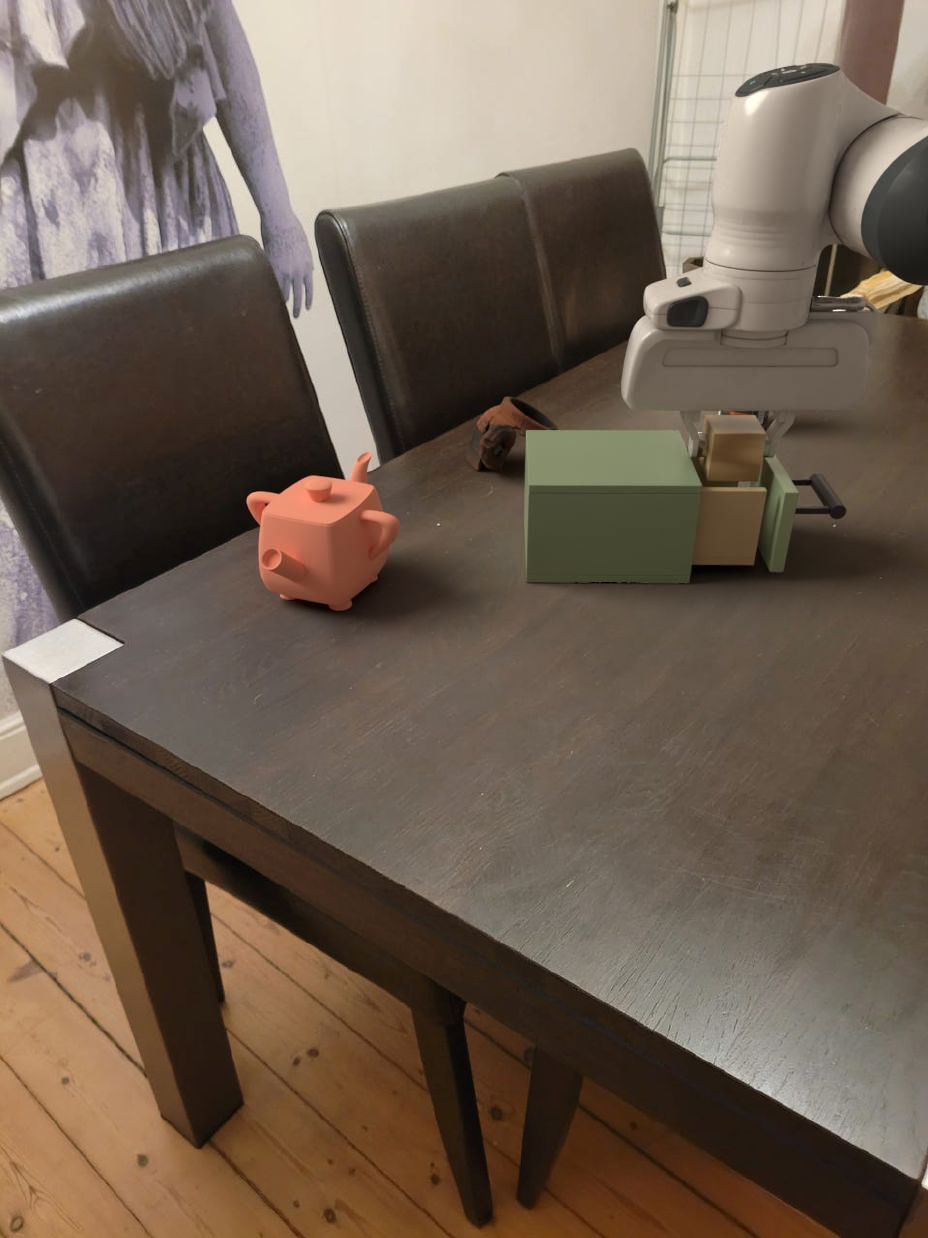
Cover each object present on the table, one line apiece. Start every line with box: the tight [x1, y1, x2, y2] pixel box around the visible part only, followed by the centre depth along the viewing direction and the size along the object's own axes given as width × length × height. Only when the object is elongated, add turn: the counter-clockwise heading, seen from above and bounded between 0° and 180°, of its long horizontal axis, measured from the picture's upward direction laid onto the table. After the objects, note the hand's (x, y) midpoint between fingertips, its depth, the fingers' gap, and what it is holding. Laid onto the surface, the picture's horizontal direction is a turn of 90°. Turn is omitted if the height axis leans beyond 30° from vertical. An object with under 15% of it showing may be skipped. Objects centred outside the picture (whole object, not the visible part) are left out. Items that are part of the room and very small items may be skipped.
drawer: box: [685, 445, 847, 573], centre depth 85 cm, size 19×11×8 cm, turn 88°
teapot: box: [246, 451, 401, 612], centre depth 81 cm, size 14×12×10 cm
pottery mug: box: [465, 396, 559, 472], centre depth 104 cm, size 12×10×8 cm
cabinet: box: [523, 429, 702, 585], centre depth 86 cm, size 15×13×10 cm
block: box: [699, 414, 767, 483], centre depth 82 cm, size 4×4×4 cm
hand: (729, 455), depth 83 cm, fingers closed on block, 4 cm apart
